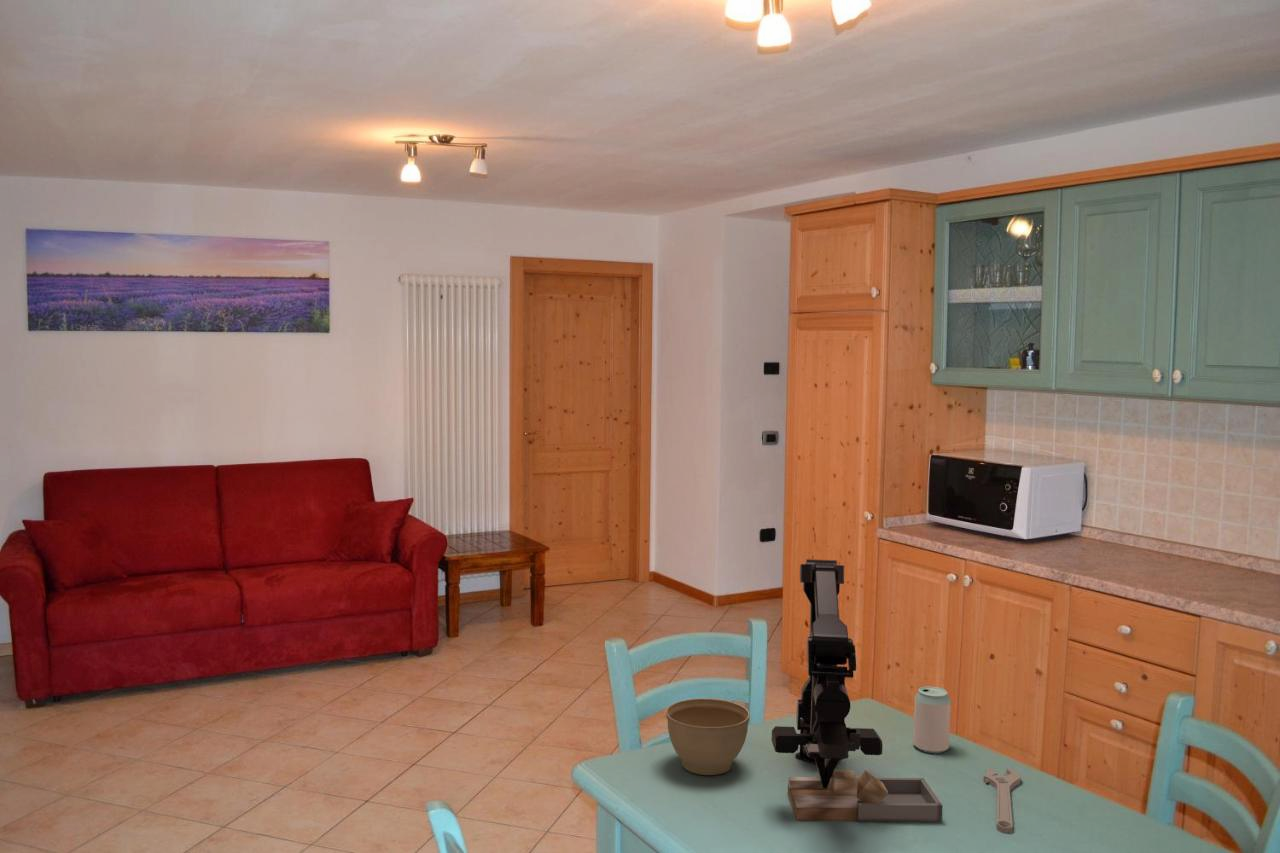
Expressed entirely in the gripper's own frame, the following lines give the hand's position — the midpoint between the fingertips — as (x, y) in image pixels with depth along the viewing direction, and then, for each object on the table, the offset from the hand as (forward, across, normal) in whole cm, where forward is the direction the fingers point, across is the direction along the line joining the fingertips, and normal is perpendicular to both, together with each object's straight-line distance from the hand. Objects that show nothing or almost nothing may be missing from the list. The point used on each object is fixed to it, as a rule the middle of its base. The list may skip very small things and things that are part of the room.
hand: (824, 787), depth 177 cm
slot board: (+4, 0, 0) cm, 4 cm away
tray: (+4, +12, 0) cm, 13 cm away
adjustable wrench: (+4, +33, +4) cm, 33 cm away
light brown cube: (+2, +7, 0) cm, 7 cm away
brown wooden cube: (+2, +3, 0) cm, 4 cm away
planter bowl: (+4, -20, +17) cm, 26 cm away
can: (+3, +27, +27) cm, 39 cm away
